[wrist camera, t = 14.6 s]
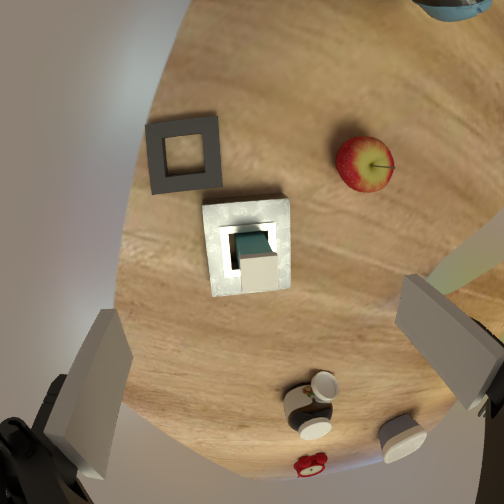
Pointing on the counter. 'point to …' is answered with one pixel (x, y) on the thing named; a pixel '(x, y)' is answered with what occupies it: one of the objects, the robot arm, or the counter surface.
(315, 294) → the counter surface
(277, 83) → the counter surface
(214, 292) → the port
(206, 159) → the dark grey square frame
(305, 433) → the spread jar
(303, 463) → the alarm clock
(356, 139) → the apple
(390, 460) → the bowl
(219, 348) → the counter surface
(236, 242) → the plug
